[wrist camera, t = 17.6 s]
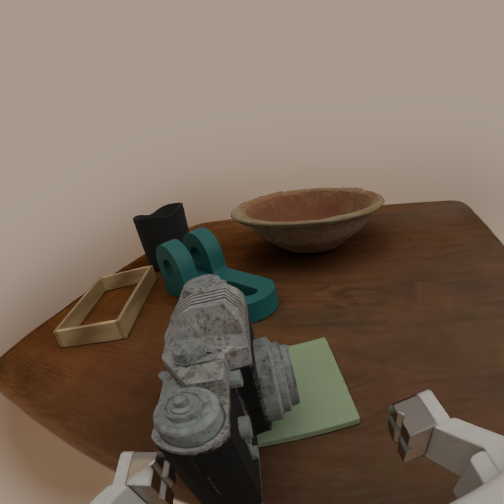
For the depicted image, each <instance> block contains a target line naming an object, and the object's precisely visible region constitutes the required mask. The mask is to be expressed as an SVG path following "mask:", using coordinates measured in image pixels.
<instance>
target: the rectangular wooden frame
mask: <svg viewBox="0 0 504 504" xmlns="http://www.w3.org/2000/svg"><path fill="white" fill-rule="evenodd" d="M156 279H157V277H156V274H155V271H154V268H153V265H150V266H146V267H141V268H137V269H133V270H129V271H125V272H121V273H116V274H112V275H108V276H105V277H100V278H98V280H97V281H96V282H95V283H94V284H93V285H92V286H91V288H90V289H89V290H88V291H87V292H86V293H85V294H84V296H83V297H82V298H81V299H80V300H79V301H78V303H77V304H76V305H75V306H74V307H73V308H72V310H71V311H70V312H69V313H68V314H67V316H66V317H65V318H64V319H63V321H62V322H61V323H60V324H59V325H58V327H57V328H56V329H55V330H54V332H53V333H54V335H55V337H56V339H57V341H58V343H59V345H60V346H61V348H62V347H70V346H77V345H85V344H92V343H99V342H106V341H112V340H119V339H125V338H127V337H128V335H129V333H130V331H131V329H132V327H133V324H134V322H135V320H136V318H137V316H138V314H139V312H140V310H141V308H142V306H143V304H144V302H145V300H146V298H147V296H148V295H149V293H150V291H151V289H152V287H153V285H154V283H155V281H156ZM134 284H138V285H137V286H136V288H135V289H134V291H133V293H132V294H131V296H130V298H129V299H128V301H127V303H126V304H125V306H124V308H123V309H122V311H121V313H120V314H119V316H118V318H117V319H116V320H111V321H105V322H100V323H94V324H88V325H83V326H80V324H81V323H82V322H83V320H84V319H85V318H86V316H87V315H88V313H89V312H90V311H91V309H92V308H93V307H94V305H95V304H96V303H97V301H98V300H99V299H100V298H101V296H102V295H103V294H104V292H105V291H107V290H112V289H116V288H121V287H125V286H130V285H134Z"/></svg>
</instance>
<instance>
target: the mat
mask: <svg viewBox="0 0 504 504" xmlns="http://www.w3.org/2000/svg"><path fill="white" fill-rule="evenodd" d="M288 348H289V352H290V356H291V360H292V365H293V369H294V374H295V378H296V383H297V388H298V393H299V399H300V403H298V404H297V405H294V406H292V410H291V411H289V412H285V415H284V419H281V420H276V421H272V430H270V431H267V432H264V433H261V434H258V435H257V439H258V447H264V446H270V445H275V444H280V443H285V442H290V441H295V440H299V439H303V438H308V437H312V436H316V435H320V434H324V433H328V432H331V431H335V430H339V429H342V428H346V427H349V426H352V425H356V424H359V423H360V417H359V415H358V412H357V410H356V407H355V405H354V403H353V400H352V398H351V396H350V393H349V391H348V389H347V386H346V384H345V382H344V379H343V377H342V375H341V373H340V370H339V368H338V366H337V363H336V361H335V359H334V357H333V354H332V352H331V350H330V348H329V345H328V343H327V341H326V339H325V337H324V338H320V339H316V340H312V341H308V342H304V343H300V344H296V345H292V346H288Z"/></svg>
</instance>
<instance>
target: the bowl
mask: <svg viewBox="0 0 504 504" xmlns="http://www.w3.org/2000/svg"><path fill="white" fill-rule="evenodd" d="M383 203H384V198H383V197H382V196H381V195H379V194H377V193H374V192H371V191H366V190H363V189H361V188H314V189H302V190H294V191H287V192H276V193H272V194H269V195H266V196H261V197H258V198H255V199H252V200H250V201H247V202H244V203H242V204H241V205H239V206H237V207H236V208H235V209H233V211H232V212H231V217H232V218H233V219H234V220H235V221H237V222H239V223H241V224H243V225H246V226H250V227H252V228H253V230H254V231H255V232H256V233H257V234H259V236H260V237H261V238H263V239H264V240H266V241H267V242H269V243H272V244H276V245H277V246H279V247H280V248H283V249H286V250H289V251H292V252H295V253H319V252H324V251H328V250H331V249H334V248H336V247H338V246H339V245H341V244H342V243H343V242H345V241H346V240H347V239H348V238H350V237H351V236H352V235H354V234H355V233H356V232H358V231H359V230H360V229H361V228H363V226H364V225H365V224H366V223H367V221H368V219H369V217H370V216H371V214H372V213H373V212H375V211H377V210H379V209H380V208H381V207H382V205H383Z"/></svg>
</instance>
